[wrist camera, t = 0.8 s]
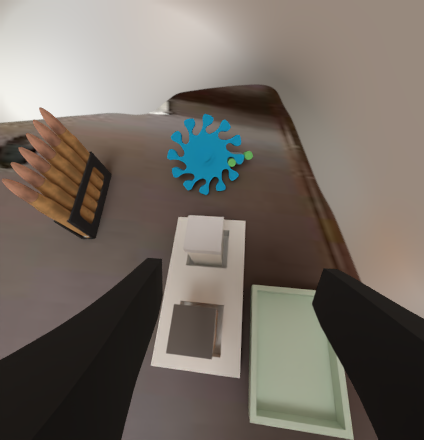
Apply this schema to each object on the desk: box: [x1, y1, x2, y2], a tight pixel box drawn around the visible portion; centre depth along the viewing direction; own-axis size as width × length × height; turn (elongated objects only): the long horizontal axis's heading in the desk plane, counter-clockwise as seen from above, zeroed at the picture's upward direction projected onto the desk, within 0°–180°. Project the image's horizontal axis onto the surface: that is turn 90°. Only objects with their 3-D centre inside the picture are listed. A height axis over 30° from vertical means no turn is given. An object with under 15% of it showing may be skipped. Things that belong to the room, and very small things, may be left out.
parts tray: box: [248, 285, 354, 440], centre depth 20 cm, size 11×8×2 cm
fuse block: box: [151, 217, 245, 378], centre depth 23 cm, size 15×8×3 cm, turn 174°
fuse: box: [183, 215, 224, 267], centre depth 22 cm, size 3×3×6 cm
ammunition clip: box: [2, 108, 112, 239], centre depth 24 cm, size 11×2×12 cm, turn 0°
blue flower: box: [167, 114, 253, 195], centre depth 29 cm, size 11×6×10 cm
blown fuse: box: [166, 304, 218, 359], centre depth 19 cm, size 3×3×6 cm
